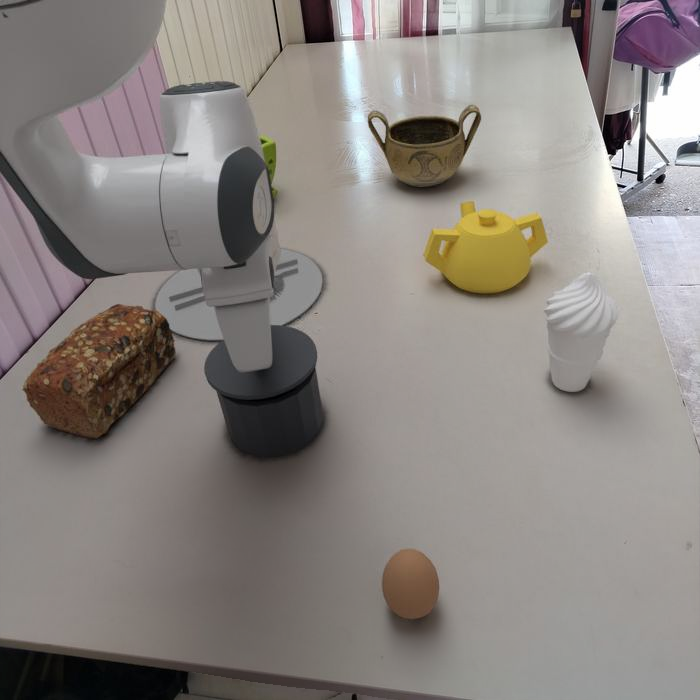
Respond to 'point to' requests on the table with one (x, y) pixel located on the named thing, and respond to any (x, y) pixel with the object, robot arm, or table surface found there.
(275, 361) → the lid
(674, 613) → the table surface
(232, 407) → the pot
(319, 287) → the plate
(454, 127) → the ceramic bowl
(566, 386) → the ice cream cone
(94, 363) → the bread
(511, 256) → the teapot
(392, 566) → the egg
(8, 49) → the robot arm
